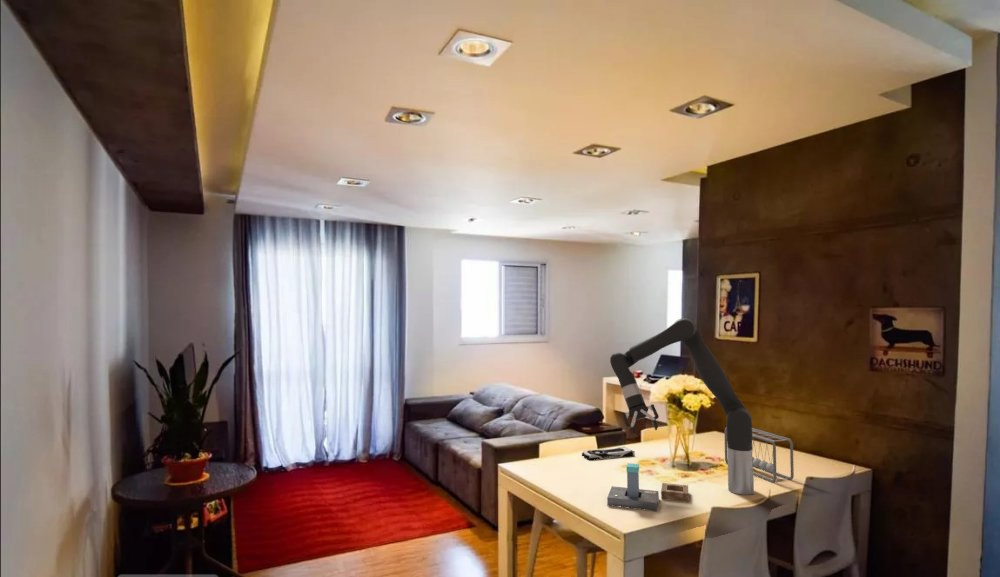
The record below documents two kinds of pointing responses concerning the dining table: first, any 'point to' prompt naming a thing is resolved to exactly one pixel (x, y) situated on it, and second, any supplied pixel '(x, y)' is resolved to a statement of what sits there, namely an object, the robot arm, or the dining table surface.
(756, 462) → the newton's cradle
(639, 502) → the port panel
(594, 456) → the graphics card
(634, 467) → the plug
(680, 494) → the holster
